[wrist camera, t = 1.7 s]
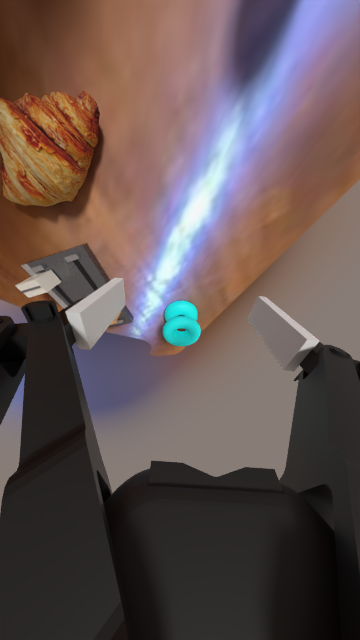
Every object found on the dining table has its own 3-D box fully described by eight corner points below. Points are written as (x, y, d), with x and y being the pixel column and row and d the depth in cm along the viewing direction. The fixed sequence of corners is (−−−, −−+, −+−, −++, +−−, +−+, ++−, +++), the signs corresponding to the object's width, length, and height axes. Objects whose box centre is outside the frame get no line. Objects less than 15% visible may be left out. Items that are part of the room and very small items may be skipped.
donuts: (154, 330, 35) (191, 315, 32) (158, 306, 43) (188, 293, 40) (174, 352, 41) (207, 341, 38) (174, 328, 48) (201, 317, 46)
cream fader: (33, 275, 33) (14, 286, 29) (51, 269, 32) (33, 280, 28) (44, 286, 35) (27, 298, 31) (61, 281, 34) (46, 292, 30)
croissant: (47, 214, 31) (41, 239, 27) (-33, 154, 22) (-55, 181, 19) (121, 140, 24) (125, 162, 21) (48, 11, 15) (35, 16, 12)
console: (27, 262, 33) (18, 266, 31) (86, 243, 31) (80, 246, 29) (89, 327, 47) (85, 333, 45) (133, 317, 45) (131, 323, 43)
